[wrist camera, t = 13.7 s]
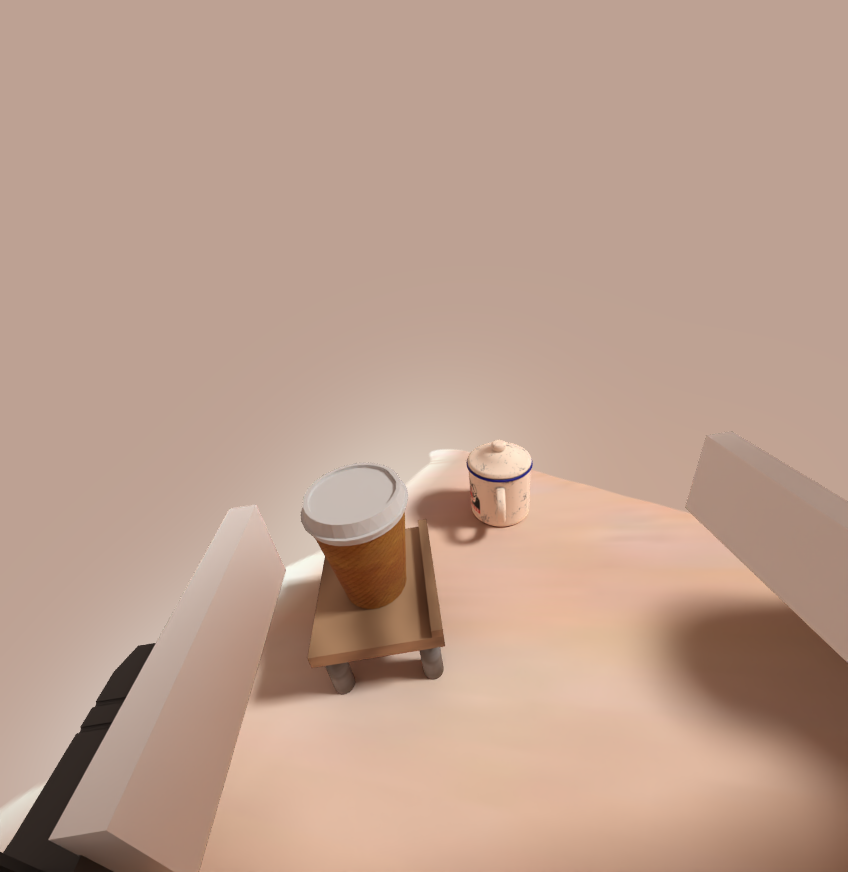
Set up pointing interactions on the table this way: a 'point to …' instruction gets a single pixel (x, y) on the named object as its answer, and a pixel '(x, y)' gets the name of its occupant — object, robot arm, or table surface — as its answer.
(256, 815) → the table surface
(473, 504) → the teacup with lid
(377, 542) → the disposable coffee cup
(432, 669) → the peg shelf
